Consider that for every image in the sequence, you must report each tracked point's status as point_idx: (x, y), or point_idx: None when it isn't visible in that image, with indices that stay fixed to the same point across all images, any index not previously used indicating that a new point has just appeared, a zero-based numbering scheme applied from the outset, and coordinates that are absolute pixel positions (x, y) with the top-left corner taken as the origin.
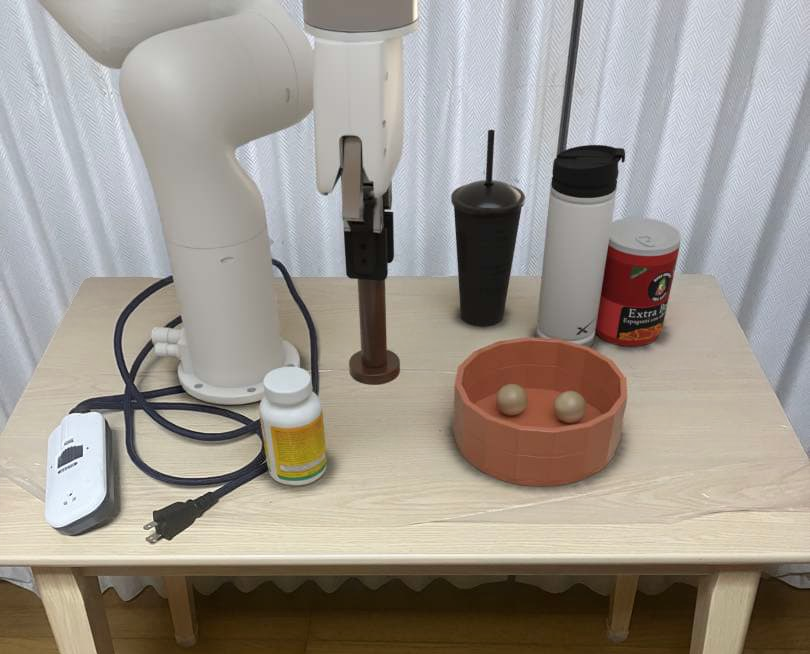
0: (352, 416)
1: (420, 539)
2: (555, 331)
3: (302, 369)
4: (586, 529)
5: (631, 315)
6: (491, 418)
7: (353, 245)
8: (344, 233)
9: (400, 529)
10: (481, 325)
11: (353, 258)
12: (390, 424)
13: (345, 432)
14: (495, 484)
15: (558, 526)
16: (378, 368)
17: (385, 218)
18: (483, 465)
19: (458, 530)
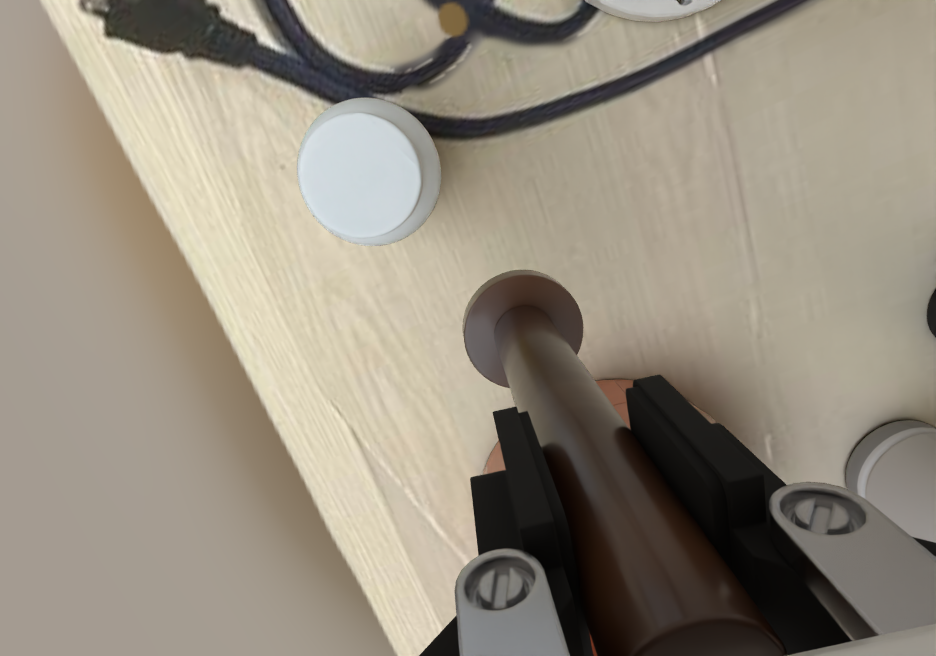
0: (570, 197)
1: (307, 427)
2: (880, 482)
3: (414, 195)
4: (420, 605)
5: None
6: None
7: (479, 542)
8: (517, 513)
9: (315, 393)
10: (928, 317)
11: (473, 502)
12: (566, 275)
13: (518, 206)
14: (468, 480)
15: (411, 575)
16: (497, 354)
17: None
18: (487, 466)
19: (349, 467)
